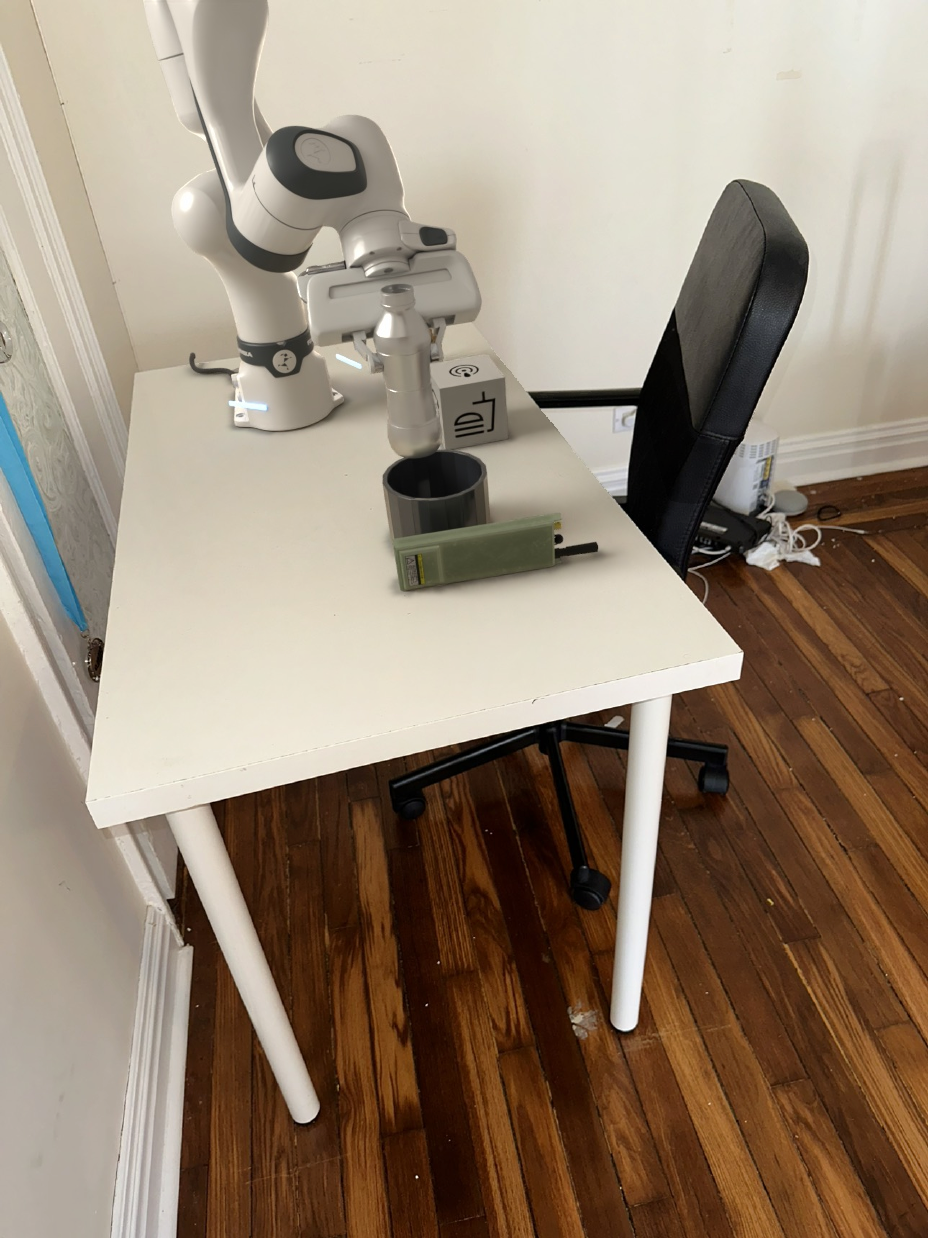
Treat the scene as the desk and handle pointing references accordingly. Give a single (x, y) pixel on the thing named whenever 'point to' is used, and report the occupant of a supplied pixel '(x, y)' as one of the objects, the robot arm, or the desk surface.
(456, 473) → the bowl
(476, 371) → the icon cube
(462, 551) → the handheld radio
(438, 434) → the metal bottle
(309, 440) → the desk surface
